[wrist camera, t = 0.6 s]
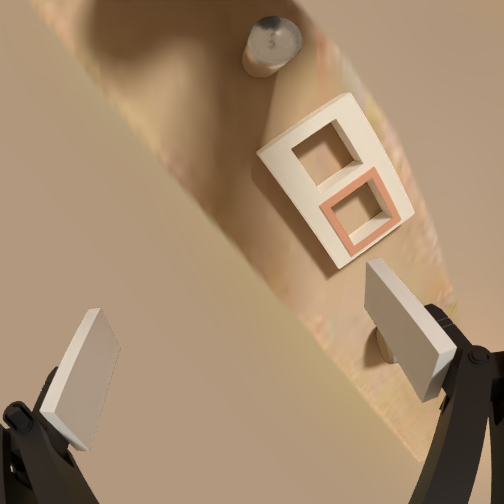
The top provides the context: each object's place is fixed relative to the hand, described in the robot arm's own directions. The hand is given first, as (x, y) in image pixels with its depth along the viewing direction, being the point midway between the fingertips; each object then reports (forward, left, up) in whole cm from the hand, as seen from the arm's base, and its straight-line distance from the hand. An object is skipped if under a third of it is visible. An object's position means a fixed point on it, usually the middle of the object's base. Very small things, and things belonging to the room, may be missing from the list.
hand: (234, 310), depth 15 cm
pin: (-16, +2, -25) cm, 30 cm away
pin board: (-3, +14, -25) cm, 29 cm away
